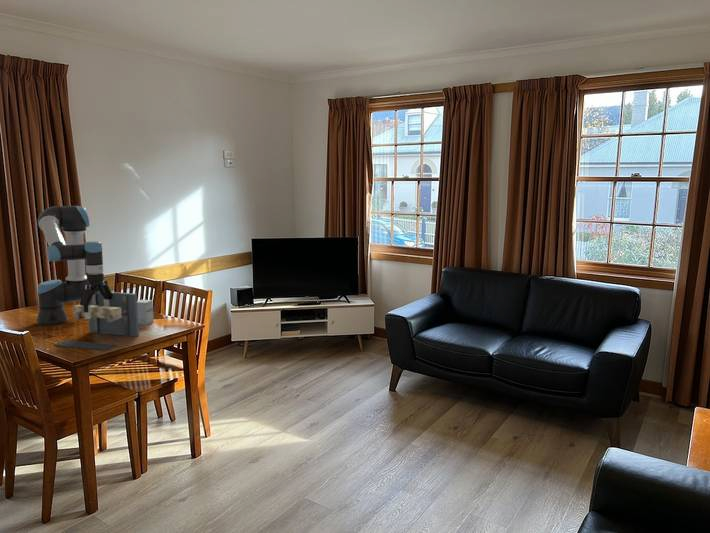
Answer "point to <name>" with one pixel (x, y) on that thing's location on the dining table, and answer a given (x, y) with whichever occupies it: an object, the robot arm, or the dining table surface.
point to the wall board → (118, 325)
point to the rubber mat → (85, 345)
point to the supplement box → (145, 311)
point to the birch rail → (99, 311)
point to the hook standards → (110, 316)
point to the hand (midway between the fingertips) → (97, 315)
